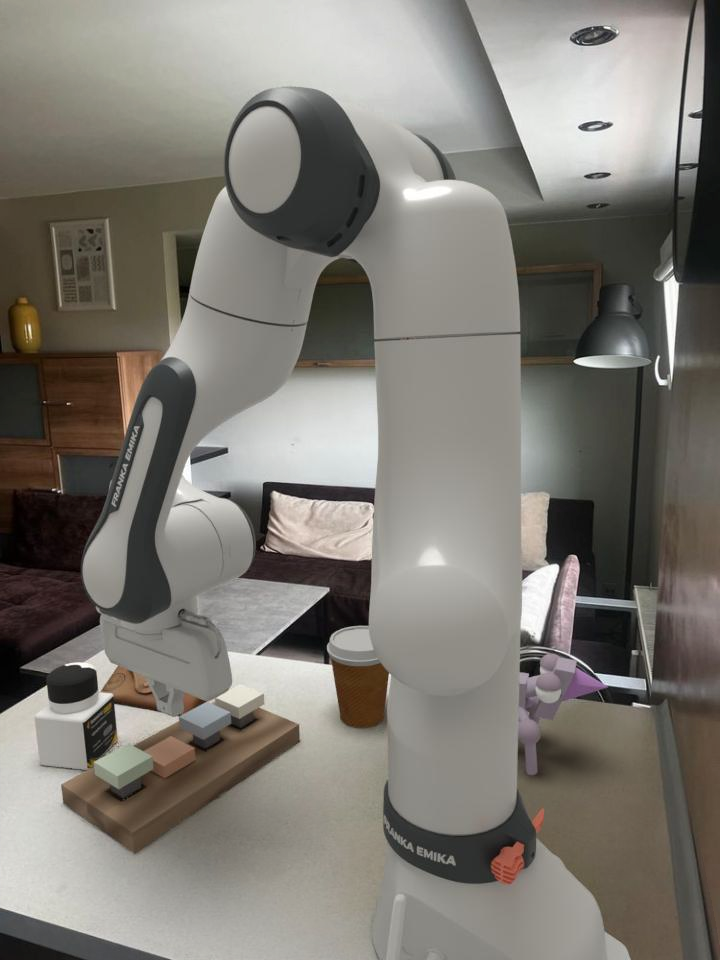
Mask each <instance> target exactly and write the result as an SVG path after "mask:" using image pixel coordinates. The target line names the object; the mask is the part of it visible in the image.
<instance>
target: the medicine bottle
mask: <svg viewBox="0 0 720 960" xmlns="http://www.w3.org/2000/svg"><path fill="white" fill-rule="evenodd" d="M97 671H98V670H97V668H96V666H94V665H93V664H91V663H89V662H78V661H77V662H70V663H65V664H62V665H59V666H58V667H56V668H54V669H53V670H51V671H50V672H49V674H48V675H47V676H46V679H45V681H46V688H47V689H46V690H47V698H48V704H47V705H46V706H45V707H43V708H42V709H40V711H39V712H37V713H35V715H34V724H35V725H34V726H35V732H36V742H37V749H38V750H37V751H38V757H39V764H40V766H46V767H56V768H62V767H63V768H64V769H71V768H72V769H74V770H80V769H81V770H82V771H87V770H89V769H91V768H93V767H94V762H95V761H97V760H98V759H100V758H102V757H104V755H106V753H107V752H108V751H109V750H110V749H111V748H112V747H113V746H114V745H115V744H116V743H117V742H118V737H119V736H118V728H117V719H116V717H117V716H116V709H115V708H116V707H115V704H114V696H113V694H112V693H102V692H101V691H99V682H98V674H97V673H98V672H97Z"/></svg>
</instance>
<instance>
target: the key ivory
mask: <svg viewBox="0 0 720 960" xmlns="http://www.w3.org/2000/svg"><path fill="white" fill-rule="evenodd" d="M214 702H215V705H216V706H218V707H220V708H222V709H224V710H227V711H229V712H231V724H233V725H235V726H238V727H240V728H241V727H243V726H245V725H246V724H248V723H250V722H251V721H253V720H254V717H253V711H254V710H255V709H257V708H261V707H262V706H264V705H265V693H264V692H261V691H259V690H256V689H253V688H251V687H249V686H247V685H244V684H242V683H240V684H237V685H236V686H234V687H232V688H229V690H228V691H227V692H225V693H224V694H222V695H220V696H218V697H216V698H215V699H214Z"/></svg>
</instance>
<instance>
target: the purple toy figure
mask: <svg viewBox="0 0 720 960" xmlns="http://www.w3.org/2000/svg"><path fill="white" fill-rule="evenodd" d="M539 665H540V667H539V675H538V674H537V675H534V676H531V677H530V673H529V672H528V673H527V672H521V671H520V673H519V722H518V742H520V743H522V744H523V745H524V757H525V770H526V774H527V775H529V776H536V775H537V774H538V759H537V756H538V755H537V743H538V742H539V740H540V739H541V735H542V730H541V726H539V724H540V720H541V719H546V720H549V721H550V720H551V721H554V719H555V717H556V714H557V712H558V710H559V708H560V705H561V704H562V702H565V701H568V700H571V699H574V698H578V697H581V696H584V695H588V694H591V693H594V692H596V691H600V690H604V689H607V688H609V686H607V684H604V683H602V682H600V681H599V680H597V679H596V678H594V677H592V676H591V675H590V674H587V673H586V672H584V671H583V670H581V669H579V668H577V667H576V666H577V659H571V658H565V657H561V656H559V655H558V654H555V653H548V654H545V655H543V656H542V658H541V659H540V662H539Z"/></svg>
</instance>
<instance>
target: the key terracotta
mask: <svg viewBox="0 0 720 960" xmlns="http://www.w3.org/2000/svg"><path fill="white" fill-rule="evenodd" d="M143 752H145V753H147V754H149V755H151V756H152V757H153V770H151V771H152V772H154V773H156V774H158V775H159V776H161V777H163V778H166V777H168V776H170V775H171V774H173V773H175V772H176V771H178V770H180V769H181V768H183V767H185V766H186V765H188V764H190V763H191V762H193V761H194V760H196V758H195V748H194V747H192V746H190V745H188V744H186V743H184V742H182V741H180V740H178V739H176V738H174V737H172V736H170V737H168V738H166V739H165V740H163V741H161V742H159V743H157V744H156V745H154V746H152V747H150V748H148V749H147V750H145V751H143Z"/></svg>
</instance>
